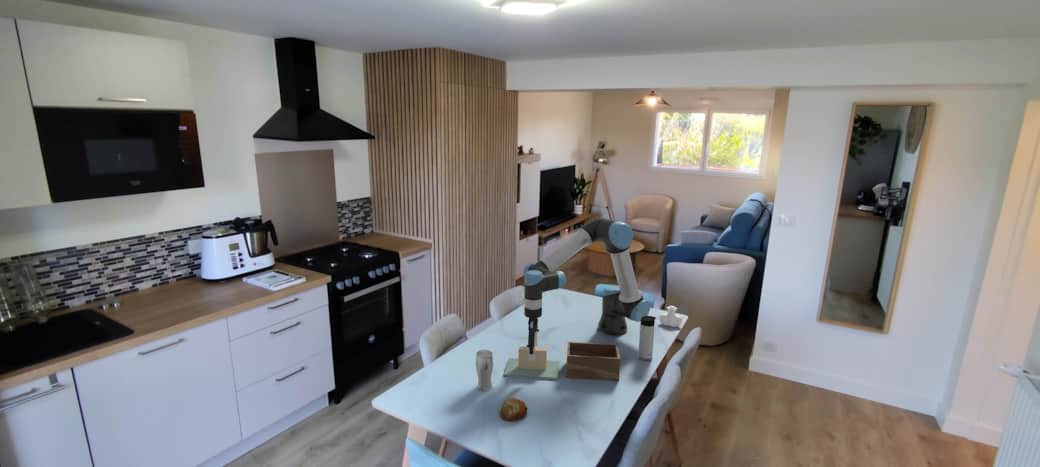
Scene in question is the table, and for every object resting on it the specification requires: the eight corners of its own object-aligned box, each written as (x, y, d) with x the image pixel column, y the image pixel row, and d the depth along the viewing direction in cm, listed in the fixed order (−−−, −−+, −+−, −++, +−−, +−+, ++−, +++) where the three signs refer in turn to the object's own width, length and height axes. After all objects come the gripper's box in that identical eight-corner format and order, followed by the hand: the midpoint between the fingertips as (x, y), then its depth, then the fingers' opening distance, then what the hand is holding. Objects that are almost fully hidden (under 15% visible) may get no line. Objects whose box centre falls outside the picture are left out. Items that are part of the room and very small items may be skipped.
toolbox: (567, 362, 219) (567, 341, 217) (616, 365, 217) (617, 344, 215) (566, 377, 206) (567, 355, 204) (619, 380, 203) (620, 359, 201)
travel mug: (653, 361, 220) (656, 320, 216) (638, 360, 222) (641, 319, 217) (652, 355, 226) (655, 315, 222) (638, 353, 228) (640, 313, 223)
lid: (509, 361, 221) (509, 339, 219) (559, 364, 218) (560, 342, 216) (503, 377, 207) (503, 354, 204) (557, 381, 204) (558, 358, 202)
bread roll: (504, 415, 185) (495, 398, 183) (528, 404, 185) (519, 387, 183) (505, 431, 175) (496, 414, 173) (531, 419, 175) (521, 401, 173)
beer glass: (495, 384, 200) (495, 350, 197) (489, 393, 194) (489, 358, 190) (480, 381, 202) (479, 348, 199) (473, 389, 196) (472, 355, 193)
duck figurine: (681, 330, 260) (684, 310, 265) (681, 326, 254) (683, 305, 258) (658, 326, 265) (661, 307, 269) (657, 322, 258) (660, 302, 263)
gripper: (527, 296, 219) (527, 340, 223) (521, 317, 194) (521, 366, 199) (543, 297, 218) (543, 340, 222) (539, 318, 194) (539, 367, 198)
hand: (532, 352), depth 211 cm, fingers open, 13 cm apart
